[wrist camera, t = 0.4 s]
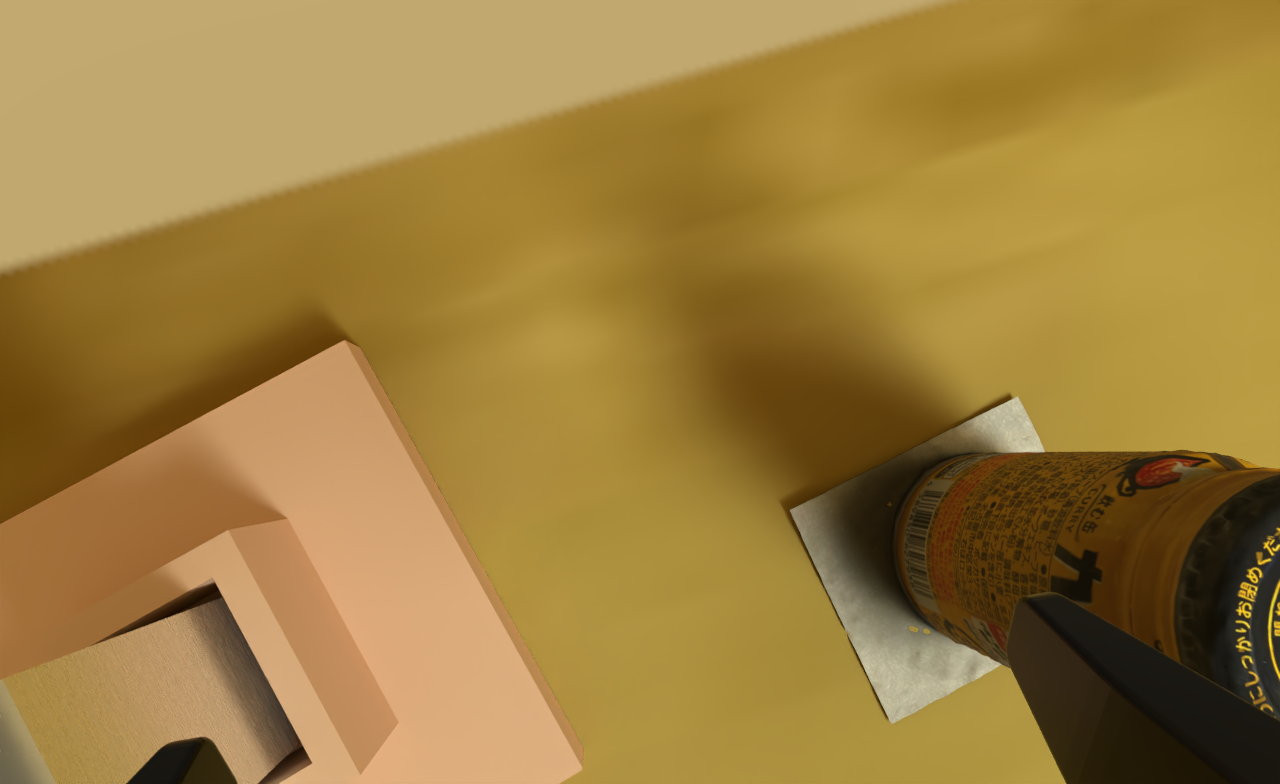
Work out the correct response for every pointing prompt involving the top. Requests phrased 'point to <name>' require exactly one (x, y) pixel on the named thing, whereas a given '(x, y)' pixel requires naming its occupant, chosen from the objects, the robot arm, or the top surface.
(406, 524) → the stand
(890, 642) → the condiment
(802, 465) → the top surface
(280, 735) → the column
